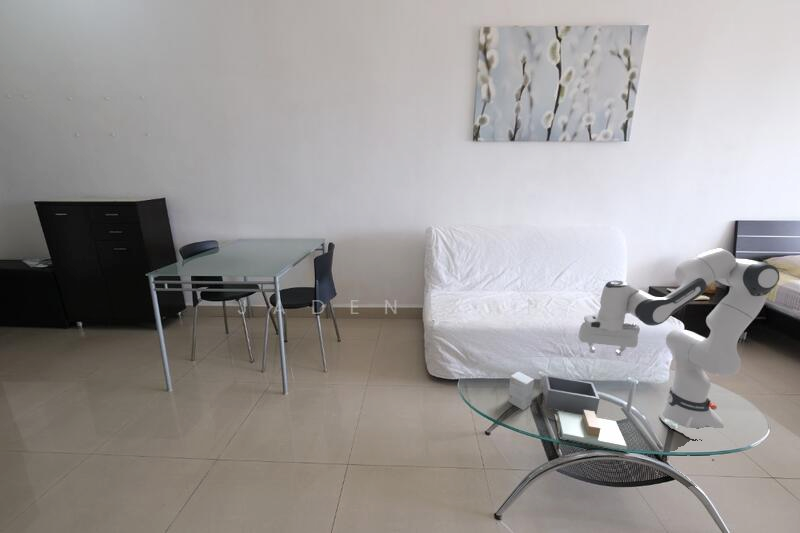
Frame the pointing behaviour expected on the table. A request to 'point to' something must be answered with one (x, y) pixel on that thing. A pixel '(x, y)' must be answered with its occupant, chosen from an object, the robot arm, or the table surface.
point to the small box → (520, 390)
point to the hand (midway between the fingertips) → (604, 353)
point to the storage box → (570, 395)
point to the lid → (590, 429)
